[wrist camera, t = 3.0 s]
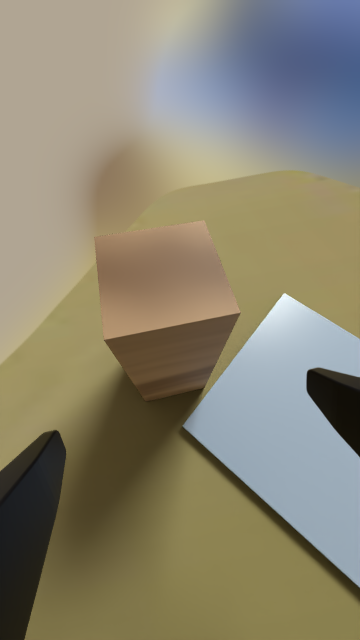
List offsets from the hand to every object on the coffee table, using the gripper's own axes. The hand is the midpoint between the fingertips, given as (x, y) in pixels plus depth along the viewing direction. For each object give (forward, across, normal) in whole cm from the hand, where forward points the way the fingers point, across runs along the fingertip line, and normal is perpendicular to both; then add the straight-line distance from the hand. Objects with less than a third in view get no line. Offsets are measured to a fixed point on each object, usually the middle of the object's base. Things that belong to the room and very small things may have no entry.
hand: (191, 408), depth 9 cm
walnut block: (+12, 0, +5) cm, 13 cm away
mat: (+7, -11, +9) cm, 16 cm away
